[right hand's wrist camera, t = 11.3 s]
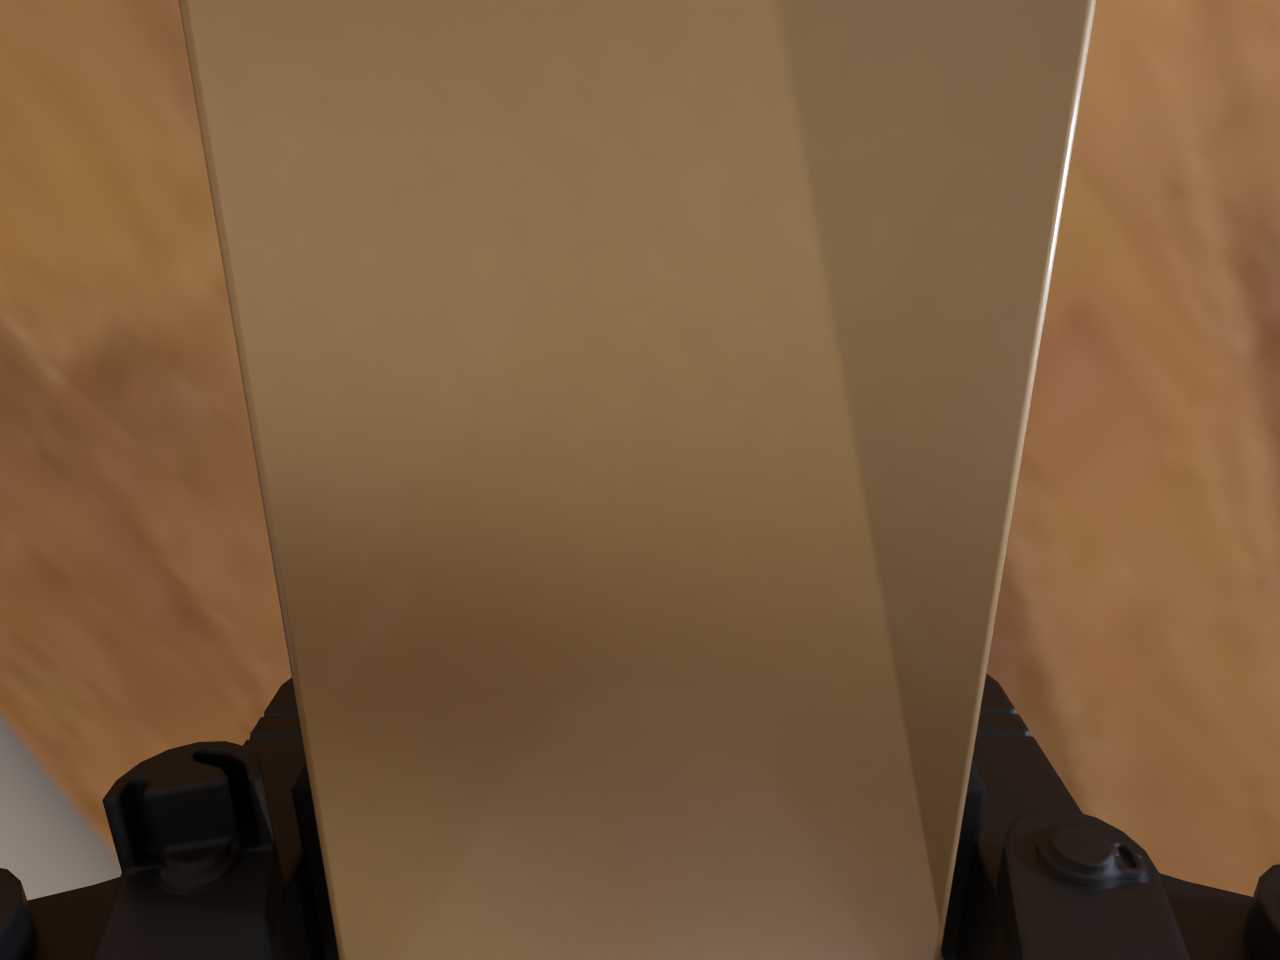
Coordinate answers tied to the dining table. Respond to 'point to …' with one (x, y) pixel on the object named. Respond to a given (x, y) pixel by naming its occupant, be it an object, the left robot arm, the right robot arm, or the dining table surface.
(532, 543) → the bar
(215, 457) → the dining table surface
